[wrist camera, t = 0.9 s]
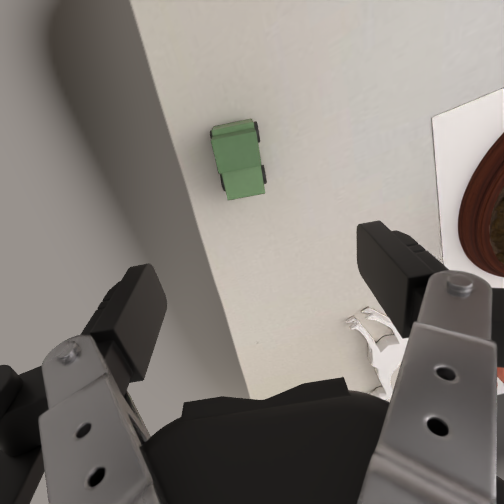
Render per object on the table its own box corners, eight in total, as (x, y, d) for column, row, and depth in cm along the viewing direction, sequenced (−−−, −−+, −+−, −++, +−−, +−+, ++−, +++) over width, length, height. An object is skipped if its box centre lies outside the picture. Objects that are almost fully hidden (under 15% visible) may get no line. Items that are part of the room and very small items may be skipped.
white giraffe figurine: (312, 352, 45) (376, 405, 53) (386, 306, 41) (443, 372, 49) (309, 342, 47) (372, 396, 55) (380, 298, 43) (436, 362, 51)
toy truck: (210, 126, 30) (204, 134, 25) (255, 117, 30) (259, 123, 25) (225, 190, 34) (223, 209, 28) (266, 183, 33) (271, 200, 28)
